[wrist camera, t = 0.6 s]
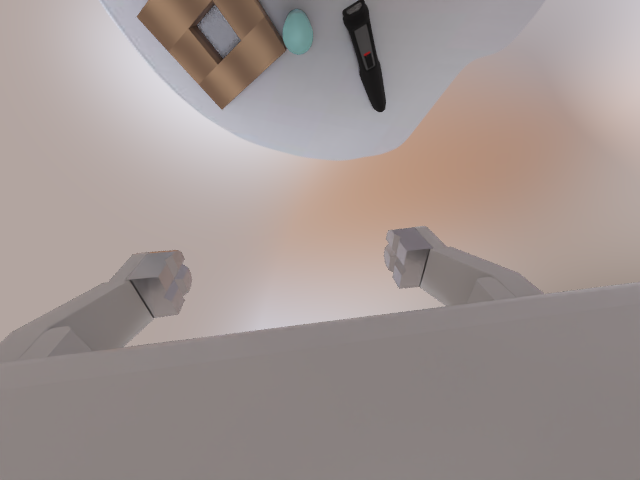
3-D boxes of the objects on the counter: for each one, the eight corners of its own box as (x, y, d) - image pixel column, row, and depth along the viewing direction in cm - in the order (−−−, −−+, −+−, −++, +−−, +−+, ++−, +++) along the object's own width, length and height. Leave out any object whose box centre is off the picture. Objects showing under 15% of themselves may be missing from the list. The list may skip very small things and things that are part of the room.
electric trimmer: (368, 111, 47) (372, 117, 45) (340, 11, 36) (343, 13, 34) (387, 101, 46) (392, 107, 44) (363, -4, 35) (368, -3, 33)
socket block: (213, -73, 30) (205, -79, 27) (286, 46, 39) (285, 50, 36) (149, 14, 35) (136, 16, 32) (226, 102, 44) (221, 109, 41)
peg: (299, 2, 35) (300, 6, 27) (313, 29, 37) (318, 40, 29) (280, 21, 36) (276, 30, 28) (295, 46, 39) (295, 61, 30)
